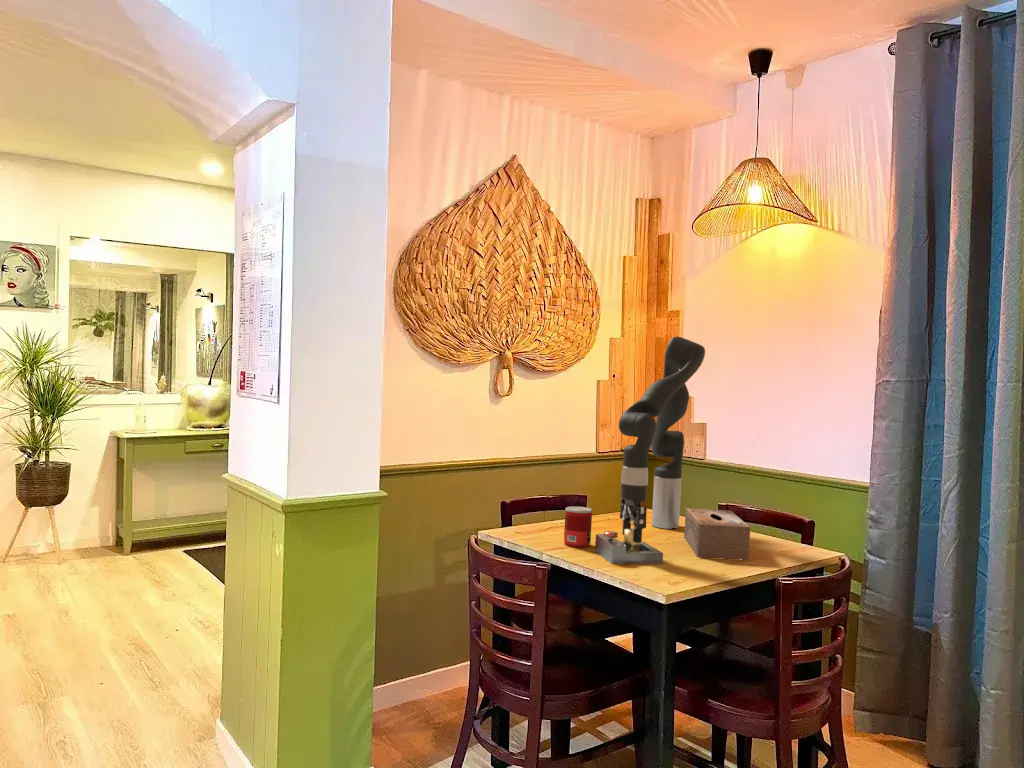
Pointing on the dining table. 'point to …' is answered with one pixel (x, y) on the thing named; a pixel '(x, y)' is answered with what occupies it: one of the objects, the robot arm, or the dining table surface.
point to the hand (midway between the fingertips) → (631, 538)
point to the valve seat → (624, 550)
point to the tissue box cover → (717, 534)
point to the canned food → (577, 527)
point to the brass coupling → (630, 541)
